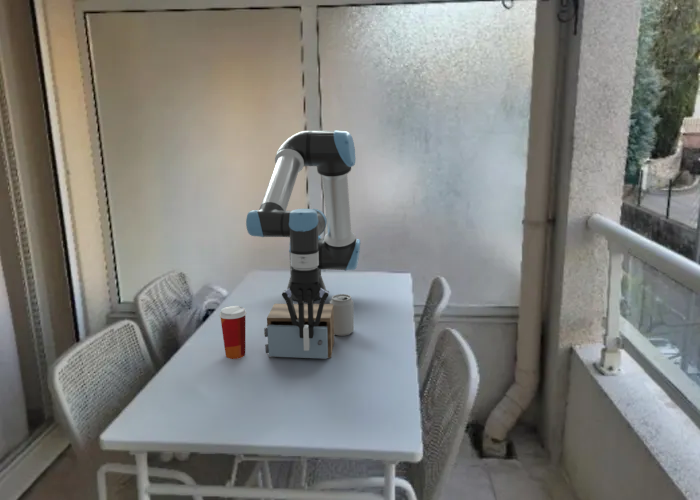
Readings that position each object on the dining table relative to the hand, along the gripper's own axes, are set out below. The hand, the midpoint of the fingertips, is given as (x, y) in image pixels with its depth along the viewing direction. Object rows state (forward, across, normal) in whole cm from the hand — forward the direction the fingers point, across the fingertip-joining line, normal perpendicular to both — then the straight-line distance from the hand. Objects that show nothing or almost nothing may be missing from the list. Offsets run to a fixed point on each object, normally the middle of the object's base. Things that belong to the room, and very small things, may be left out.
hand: (307, 348), depth 158 cm
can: (+5, +8, +23) cm, 25 cm away
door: (+4, -3, +2) cm, 5 cm away
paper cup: (+5, -22, +5) cm, 23 cm away
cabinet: (+5, -3, +10) cm, 11 cm away
